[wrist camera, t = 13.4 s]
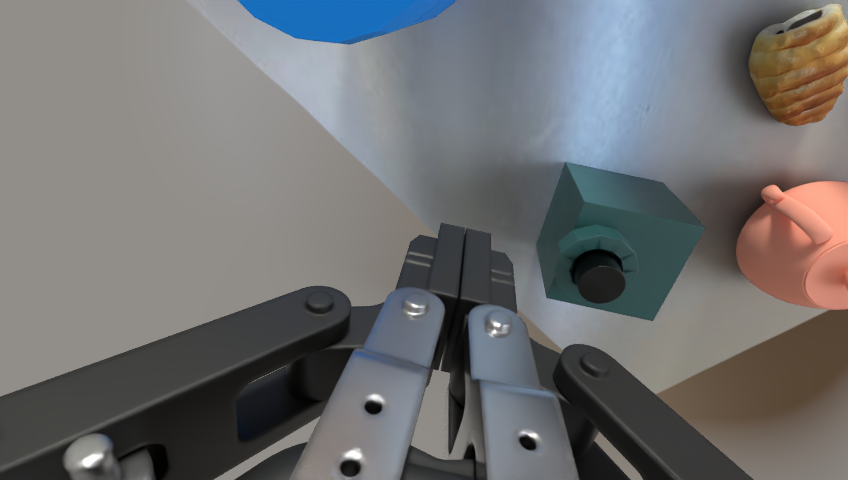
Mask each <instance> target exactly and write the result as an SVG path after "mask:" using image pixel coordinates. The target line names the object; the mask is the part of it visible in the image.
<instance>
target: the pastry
mask: <svg viewBox="0 0 848 480" xmlns="http://www.w3.org/2000/svg"><path fill="white" fill-rule="evenodd" d="M748 64H749V71H750V76H751V78H752V80H753V82H754V85H755V87H756V89H757V92H758V94H759V95H760V97H761V99H762V101H763V102H764V104H765V105H766V107H767V109H768V111H769V112H770V114H771V115H772V116H773V117H774V118H776V119H777V120H778V121H779V122H782V123H785V124H788V125H793V126H799V125H804V124H808V123H814V122H818V121H821V120H823V118H824V117H825V116H826V114H827V113H828V112H829V111H830V110H832V108H833V106H834V104H835V102H836V100H837V98H838V96H839V95H840V94H842V92H843V89H844V86H843V81H844V79H845V78H846V77H847V76H848V22H847V21H846V20H845V18H844V17H843V13H842V7H841V6H840V5H839V4H828V5H826V6H824V7H822V8H819V9H814V10H812V9H811V10H807V11H804V12H802V13H799V14H798V15H797V16H795V17H793V18H791V19H789V20H787V21H786V22H785V23H777V24H773V25H771V26H769V27H767V28H765V29H763V30H762V31H761V32H760V33H759V34H758V35H757V37H756V39H755V41H754V43H753V46H752V50H751V54H750V57H749V62H748Z"/></svg>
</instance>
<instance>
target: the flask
mask: <svg viewBox="0 0 848 480" xmlns="http://www.w3.org/2000/svg"><path fill="white" fill-rule="evenodd" d="M704 229H705V226H704V225H703V224H702V223H701V222H700V221H699V220H698V219H697V218H696V217H695V216H694V215H693V214H692V213H691V212H690V210H689V209H688V208H687V207H686V206H685V205H684V204H683V203H682V202H681V201H680V200H679V199H678V198H677V197H676V196H675V195H674V194H673V193H672V192H671V191H670V190H669V188H668V187H667V186H666V185H665V184H664V183H662V182H657V181H653V180H648V179H643V178H638V177H634V176H629V175H624V174H620V173H615V172H610V171H605V170H601V169H596V168H591V167H586V166H582V165H577V164H572V163H567V162H565V165H564V168H563V171H562V174H561V177H560V179H559V182H558V185H557V188H556V191H555V194H554V196H553V199H552V202H551V205H550V208H549V211H548V213H547V216H546V219H545V222H544V225H543V228H542V230H541V233H540V236H539V239H538V242H537V245H536V246H537V252H538V257H539V262H540V267H541V272H542V277H543V282H544V287H545V293H546V298H550V299H555V300H559V301H564V302H568V303H573V304H577V305H582V306H586V307H591V308H596V309H600V310H605V311H609V312H614V313H618V314H623V315H627V316H632V317H637V318H641V319H646V320H650V321H653V320H654V318H655V316H656V315H657V313H658V311H659V309H660V308H661V306H662V304H663V302H664V300H665V299H666V297H667V295H668V293H669V292H670V290H671V288H672V286H673V284H674V283H675V281H676V279H677V277H678V276H679V274H680V272H681V270H682V268H683V267H684V265H685V263H686V261H687V260H688V258H689V256H690V254H691V252H692V251H693V249H694V247H695V245H696V244H697V242H698V240H699V238H700V236H701V235H702V233H703V231H704ZM593 250H602V251H606V252H608V253H610V254H612V255H613V256H614V257H615V259H616V260H617V262H618V264H619V266H620V268H621V270H622V272H623V274H624V276H625V279H626V287H625V290H624V291H623V293H622V294H621V295H620V296H619V297H618V298H617V299H615V300H614V301H611V302H609V303H604V304H596V303H591V302H589V301H587V300H585V299H584V298H583V297H582V296H581V295H580V293H579V290H578V287H577V284H576V281H575V278H574V274H573V266H574V263H575V261H576V260H577V259H578V258H579V257H580V256H581V255H582V254H584V253H586V252H589V251H593Z"/></svg>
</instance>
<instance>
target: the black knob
mask: <svg viewBox="0 0 848 480" xmlns="http://www.w3.org/2000/svg"><path fill="white" fill-rule="evenodd" d="M573 274H574V278H575V281H576V284H577V287H578V290H579V293H580V295H581V296H582V297H583V298H584V299H585V300H587V301H589V302H591V303H596V304H604V303H609V302H611V301H614V300H615V299H617V298H618V297H619V296H620V295H621V294H622V293H623V291H624V290H625V287H626V279H625V276H624V274H623V272H622V270H621V268H620V266H619V264H618V262H617V260H616V259H615V257H614V256H613V255H612V254H610V253H608V252H606V251H602V250H593V251H589V252H586V253H584V254H582V255H581V256H580V257H579V258H578V259H577V260H576V261H575V263H574V266H573Z"/></svg>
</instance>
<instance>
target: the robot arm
mask: <svg viewBox="0 0 848 480" xmlns="http://www.w3.org/2000/svg"><path fill="white" fill-rule="evenodd" d="M464 231H465V228H463V227H458V226H454V225H449V224H444V223H441V225H440V230H439V234H438V239H437V238H432V237H428V236H423V235H419V236H418V237H417V238H415V239H414V240H412V241H411V242H410V245H409V249H408V251H407V255H406V258H405V261H404V264H403V267H402V270H401V273H400V277H399V280H398V283H397V286H396V289H395V290H394V291H393V292H391V293H390V294H389V295H388V297H387V298H386V300H385V302H383V303H381V304H378V305H374V306H361V307H360V306H359V307H351V302H350V300H349V298H348V297H347V296H346V295H345V294H344V293H342V292H341V291H339V290H337V289H334V288H331V287H326V286H311V287H306V288H302V289H300V290H297V291H294V292H291V293H288V294H286V295H283V296H280V297H277V298H275V299H272V300H269V301H266V302H263V303H261V304H258V305H255V306H252V307H249V308H247V309H244V310H241V311H238V312H236V313H233V314H230V315H227V316H224V317H222V318H219V319H216V320H213V321H210V322H208V323H205V324H202V325H199V326H196V327H194V328H191V329H188V330H185V331H182V332H180V333H177V334H174V335H171V336H168V337H166V338H163V339H160V340H157V341H155V342H152V343H149V344H146V345H143V346H141V347H138V348H135V349H132V350H129V351H127V352H124V353H121V354H118V355H115V356H113V357H110V358H107V359H104V360H102V361H99V362H96V363H93V364H90V365H88V366H85V367H82V368H79V369H76V370H74V371H71V372H68V373H65V374H63V375H60V376H57V377H54V378H51V379H49V380H46V381H43V382H40V383H37V384H35V385H32V386H29V387H26V388H24V389H21V390H18V391H15V392H12V393H9V394H7V395H4V396H1V397H0V480H213V479H215V478H217V477H218V476H220V475H222V474H224V473H225V472H227V471H228V470H230V469H232V468H233V467H235V466H237V465H238V464H240V463H242V462H244V461H245V460H247V459H249V458H250V457H252V456H254V455H255V454H257V453H259V452H261V451H262V450H264V449H266V448H267V447H269V446H271V445H272V444H274V443H276V442H277V441H279V440H281V439H282V438H284V437H286V436H287V435H289V434H291V433H292V432H294V431H296V430H297V429H299V428H301V427H302V426H304V425H306V424H308V423H309V422H311V421H312V420H314V419H316V418H317V417H319V416H321V417H320V419H319V421H318V423H317V425H316V427H315V429H314V431H313V433H312V435H311V437H310V439H309V441H308V442H306V443H302V444H298V445H295V446H292V447H290V448H287V449H284V450H282V451H280V452H278V453H276V454H274V455H272V456H271V457H269V458H267V459H266V460H264V461H263V462H261V463H259V464H258V465H256V466H255V467H253V468H252V469H250V470H249V471H247V472H246V473H244V474H243V475H241V476H240V477H238V478H236V479H235V480H630V479H629V478H628V476H627V475H625V473H624V472H623V471H622V470H621V469H620V468H619V467H618V466H617V465H616V464H615V463H614V462H613V460H612V459H610V457H609V456H608V455H607V454H606V453H605V452H604V451H603V450H602V449H601V448H600V447H599V446H598V444H597V443H596V442H595V441H594V439H595V438H596V436H597V434H598V433H599V431H600V432H601V433H602V434H603V435H604V437H606V439H607V440H608V441H609V442H610V443H611V444H612V445H613V446H614V447H615V448H616V449H617V450H618V451H619V452H620V453H621V454H622V455H623V456H624V457H625V458H626V459H627V460H628V461H629V462H630V463H631V465H632V466H633V467H635V469H636V470H637V471H638V472H639V473H640V475H641V476H642V478H643V480H753V479H752V478H751V477H750V476H749V475H748V474H746V473H745V472H744V471H743V470H742V469H741V468H739V467H738V466H737V465H736V464H735V463H734V462H733V461H731V460H730V459H729V458H728V457H727V456H725V455H724V454H723V453H722V452H721V451H720V450H718V448H716V447H715V446H714V445H713V444H712V443H710V442H709V441H708V440H707V439H706V438H705V437H704V436H702V435H701V434H700V433H699V432H698V431H697V430H696V429H694V428H693V427H692V426H691V425H690V424H689V423H687V422H686V421H685V420H684V419H683V418H682V417H680V416H679V415H678V414H677V413H676V412H675V411H674V410H672V409H671V408H670V407H669V406H668V405H667V404H665V403H664V402H663V401H662V400H661V399H660V398H658V397H657V396H656V395H655V394H654V393H653V392H652V391H650V390H649V389H648V388H647V387H646V386H645V385H644V384H642V383H641V382H640V381H639V380H638V379H637V378H635V377H634V376H633V375H632V374H631V373H630V372H628V371H627V370H626V369H625V368H624V367H623V366H622V365H620V364H619V363H618V362H617V361H616V360H615V359H613V358H612V357H611V356H610V355H608V354H607V353H605V352H603V351H601V350H600V349H597V348H595V347H592V346H589V345H584V344H573V345H570V346H568V347H566V348H565V349H564V350H563V352H562V354H559V353H557V352H555V351H553V350H551V349H548V348H547V347H544V346H542V345H540V344H538V343H537V342H536V341H534V340H533V339H531V338H530V337H529V334H528V330H527V327H526V324H525V323H524V321H523V320H522V319H521V318H520V317H519V316H518V315H517V305H516V294H515V286H514V284H515V283H514V277H513V276H514V273H513V264H512V262H511V261H510V260H509V258H508V257H507V255H506V254H505V253H502V252H497V251H493V250H491V233H486V232H482V231H477V230H472V229H468V228H467V229H466V231H465V235H464ZM442 355H443V358H442ZM441 358H442V367H441V371H444V372H449V373H450V382H449V385H448V389H447V392H446V396H445V422H444V424H445V425H444V460H442V459H438V458H435V457H433V456H431V455H429V454H427V453H425V452H423V451H421V450H419V449H417V448H415V447H413V446H411V442H412V438H413V434H414V430H415V427H416V423H417V419H418V415H419V411H420V408H421V404H422V400H423V396H424V392H425V388H426V387H427V386H428V385H429V383H430V379H431V376H432V372H433V369H435V370H439V366H440V362H441ZM283 366H285V367H283ZM281 367H283V368H281ZM279 368H281V369H279ZM277 369H279V370H277ZM275 370H277V371H275ZM273 371H275V372H273ZM271 372H273V373H271ZM269 373H271V374H269ZM267 374H268V375H267ZM265 375H266V376H265ZM262 376H264V377H262ZM260 377H262V378H260ZM258 378H260V379H258ZM256 379H258V380H256ZM254 380H256V381H254ZM252 381H254V382H252ZM251 382H252V383H251ZM249 383H250V384H249Z"/></svg>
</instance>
